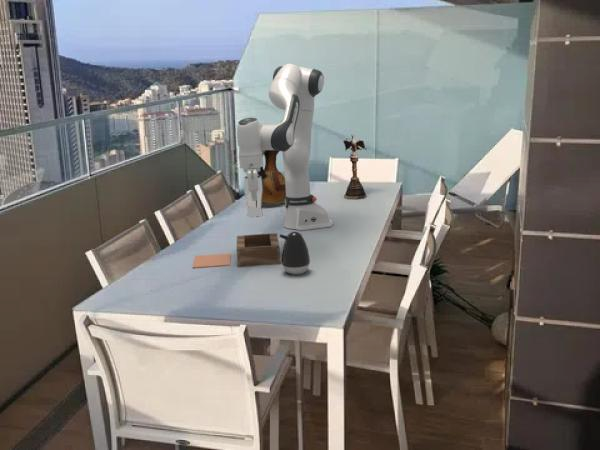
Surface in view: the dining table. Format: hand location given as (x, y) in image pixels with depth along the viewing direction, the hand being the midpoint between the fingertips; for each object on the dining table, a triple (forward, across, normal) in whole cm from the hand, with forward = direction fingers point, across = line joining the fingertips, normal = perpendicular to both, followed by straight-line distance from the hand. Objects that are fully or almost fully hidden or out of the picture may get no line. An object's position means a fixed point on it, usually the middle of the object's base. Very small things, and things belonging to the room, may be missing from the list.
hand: (254, 198), depth 235 cm
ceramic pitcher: (+24, +91, -8) cm, 94 cm away
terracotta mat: (+23, 0, +18) cm, 30 cm away
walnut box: (+24, 0, 0) cm, 24 cm away
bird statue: (+25, +97, -54) cm, 114 cm away
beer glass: (+7, 0, 0) cm, 7 cm away
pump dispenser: (+24, -20, -13) cm, 34 cm away
